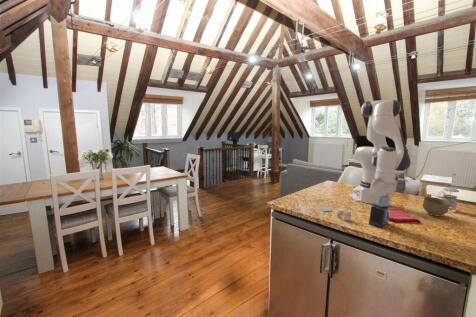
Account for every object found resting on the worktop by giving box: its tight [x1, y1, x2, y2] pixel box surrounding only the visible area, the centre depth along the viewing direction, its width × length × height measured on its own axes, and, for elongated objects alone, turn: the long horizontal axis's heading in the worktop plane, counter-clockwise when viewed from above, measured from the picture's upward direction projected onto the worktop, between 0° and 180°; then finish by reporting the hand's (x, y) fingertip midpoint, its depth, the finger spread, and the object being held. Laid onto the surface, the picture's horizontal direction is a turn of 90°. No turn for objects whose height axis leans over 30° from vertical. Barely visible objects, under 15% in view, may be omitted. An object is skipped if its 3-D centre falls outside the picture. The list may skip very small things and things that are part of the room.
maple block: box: [336, 208, 352, 222], centre depth 136 cm, size 5×5×5 cm
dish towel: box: [371, 204, 421, 223], centre depth 145 cm, size 17×24×3 cm
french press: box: [436, 172, 460, 210], centre depth 157 cm, size 10×12×25 cm
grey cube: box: [373, 195, 390, 207], centre depth 129 cm, size 5×5×5 cm
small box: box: [368, 204, 391, 228], centre depth 130 cm, size 11×6×10 cm, turn 129°
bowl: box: [422, 196, 450, 216], centre depth 147 cm, size 13×13×10 cm
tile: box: [317, 206, 333, 213], centre depth 150 cm, size 6×6×1 cm
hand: (381, 201), depth 129 cm, fingers closed on grey cube, 5 cm apart
